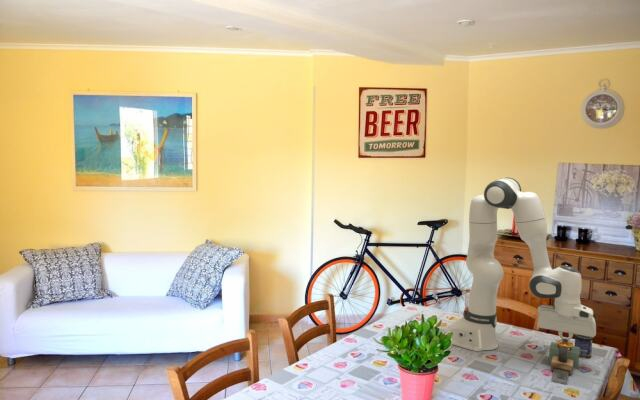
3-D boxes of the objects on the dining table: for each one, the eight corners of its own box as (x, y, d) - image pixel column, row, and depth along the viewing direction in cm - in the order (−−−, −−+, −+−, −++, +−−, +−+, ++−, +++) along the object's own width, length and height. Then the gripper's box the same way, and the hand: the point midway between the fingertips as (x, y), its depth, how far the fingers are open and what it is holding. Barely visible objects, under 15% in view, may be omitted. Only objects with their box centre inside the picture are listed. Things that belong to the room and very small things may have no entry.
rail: (551, 381, 173) (551, 377, 173) (555, 365, 186) (555, 361, 185) (566, 384, 170) (567, 380, 170) (570, 368, 183) (570, 364, 183)
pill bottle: (593, 359, 191) (595, 332, 190) (576, 357, 193) (578, 331, 191) (588, 352, 197) (589, 326, 196) (572, 351, 199) (573, 325, 197)
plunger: (555, 358, 187) (556, 343, 186) (556, 353, 192) (557, 338, 191) (571, 361, 184) (572, 346, 184) (572, 356, 189) (573, 341, 188)
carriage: (550, 370, 181) (552, 348, 180) (552, 364, 186) (553, 343, 185) (571, 374, 177) (573, 352, 176) (572, 368, 182) (574, 347, 181)
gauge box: (548, 362, 188) (549, 348, 187) (550, 356, 194) (551, 341, 193) (577, 368, 183) (578, 353, 182) (578, 362, 189) (579, 347, 188)
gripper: (536, 305, 188) (535, 339, 190) (596, 315, 178) (594, 351, 179) (538, 301, 194) (537, 334, 195) (597, 310, 183) (595, 345, 185)
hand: (565, 342), depth 187 cm, fingers closed, pressing on plunger
